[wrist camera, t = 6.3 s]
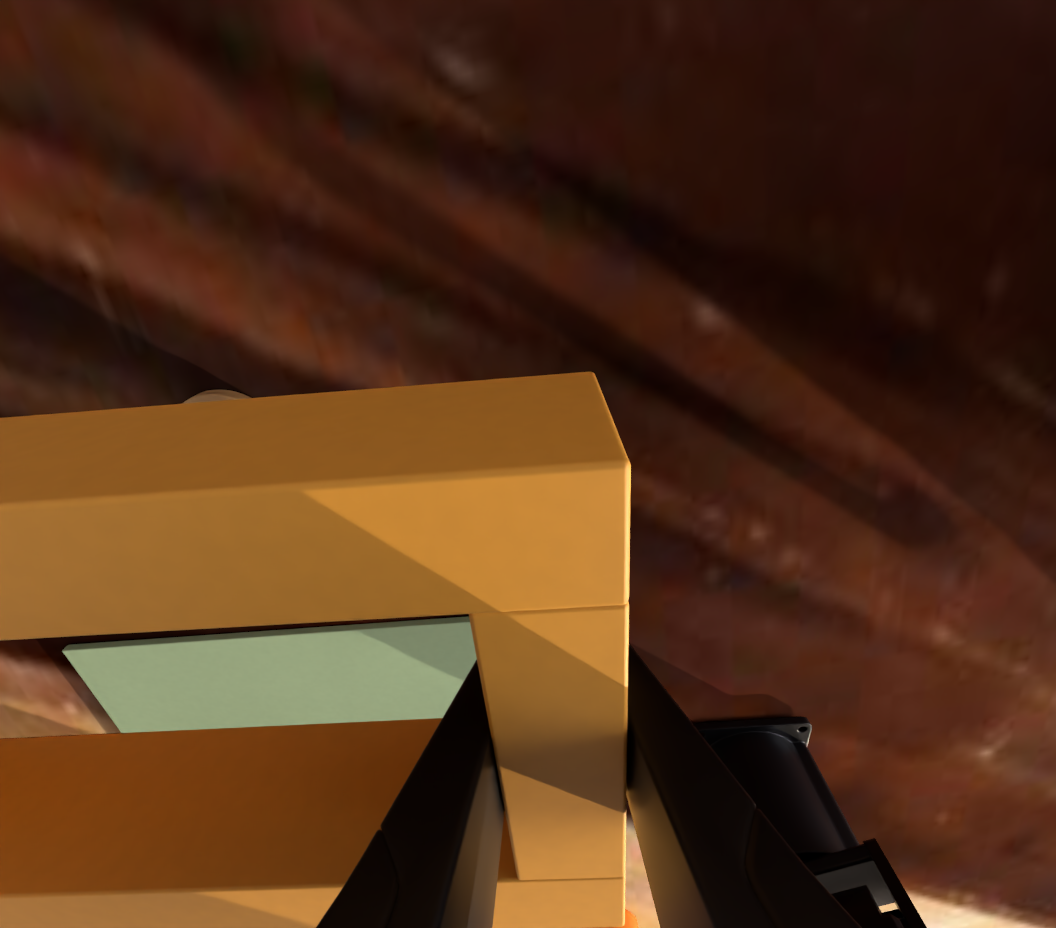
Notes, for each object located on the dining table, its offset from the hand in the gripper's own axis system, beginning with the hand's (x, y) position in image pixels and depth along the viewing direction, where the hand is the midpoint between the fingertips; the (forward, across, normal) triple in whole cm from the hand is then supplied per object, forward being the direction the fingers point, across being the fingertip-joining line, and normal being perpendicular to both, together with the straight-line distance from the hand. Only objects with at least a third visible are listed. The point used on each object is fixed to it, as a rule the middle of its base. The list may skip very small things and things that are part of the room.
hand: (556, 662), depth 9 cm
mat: (+11, +12, +17) cm, 23 cm away
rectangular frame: (+1, +8, 0) cm, 8 cm away
